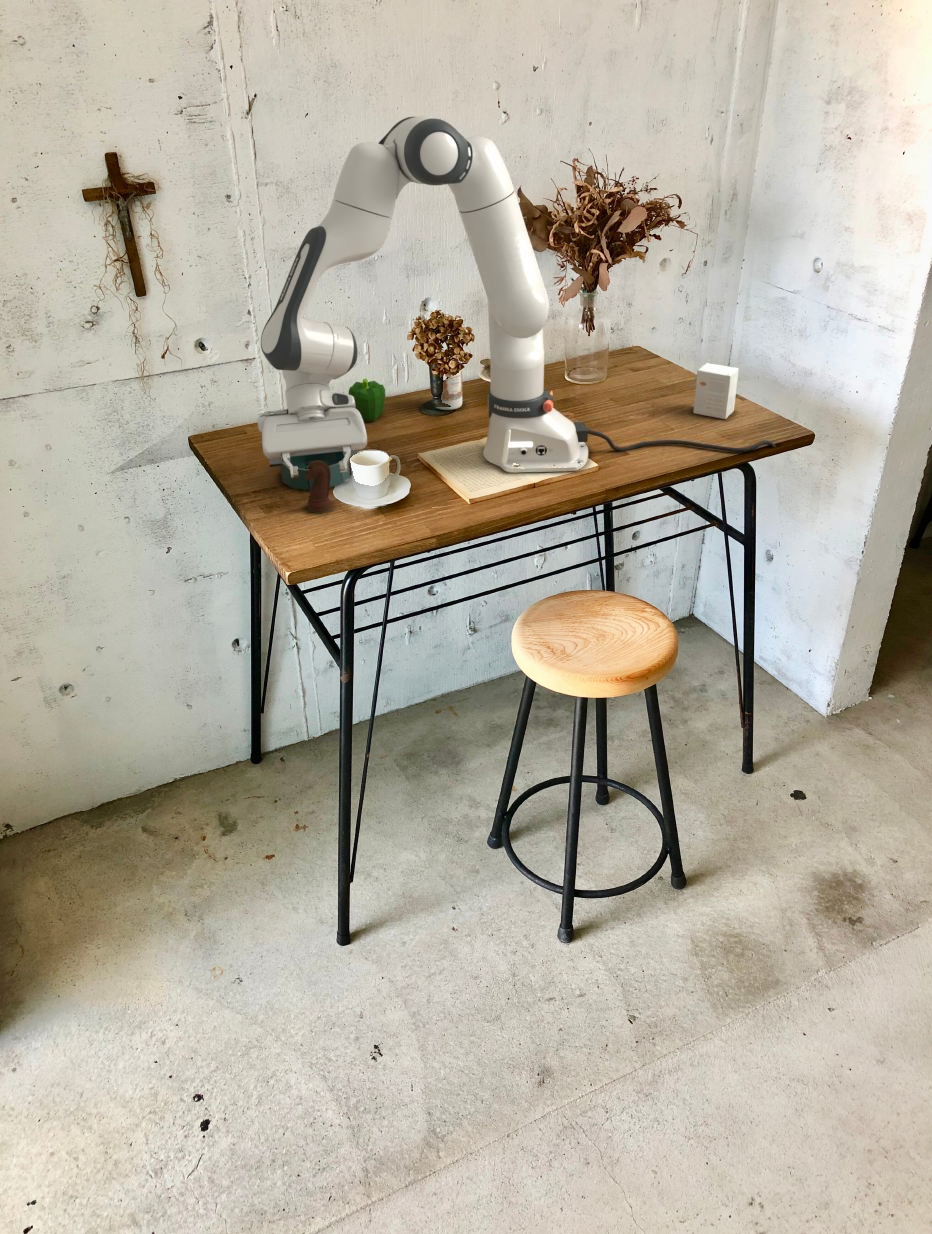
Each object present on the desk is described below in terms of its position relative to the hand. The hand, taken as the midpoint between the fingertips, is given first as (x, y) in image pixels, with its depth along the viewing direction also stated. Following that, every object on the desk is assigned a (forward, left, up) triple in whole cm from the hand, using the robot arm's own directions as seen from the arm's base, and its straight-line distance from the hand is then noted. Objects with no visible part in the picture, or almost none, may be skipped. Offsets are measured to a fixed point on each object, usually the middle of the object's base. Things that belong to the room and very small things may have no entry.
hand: (319, 473), depth 196 cm
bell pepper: (+3, -45, -7) cm, 46 cm away
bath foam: (-14, -55, -7) cm, 57 cm away
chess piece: (0, 0, -7) cm, 8 cm away
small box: (-76, -59, -7) cm, 97 cm away
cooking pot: (+6, -14, -7) cm, 17 cm away
